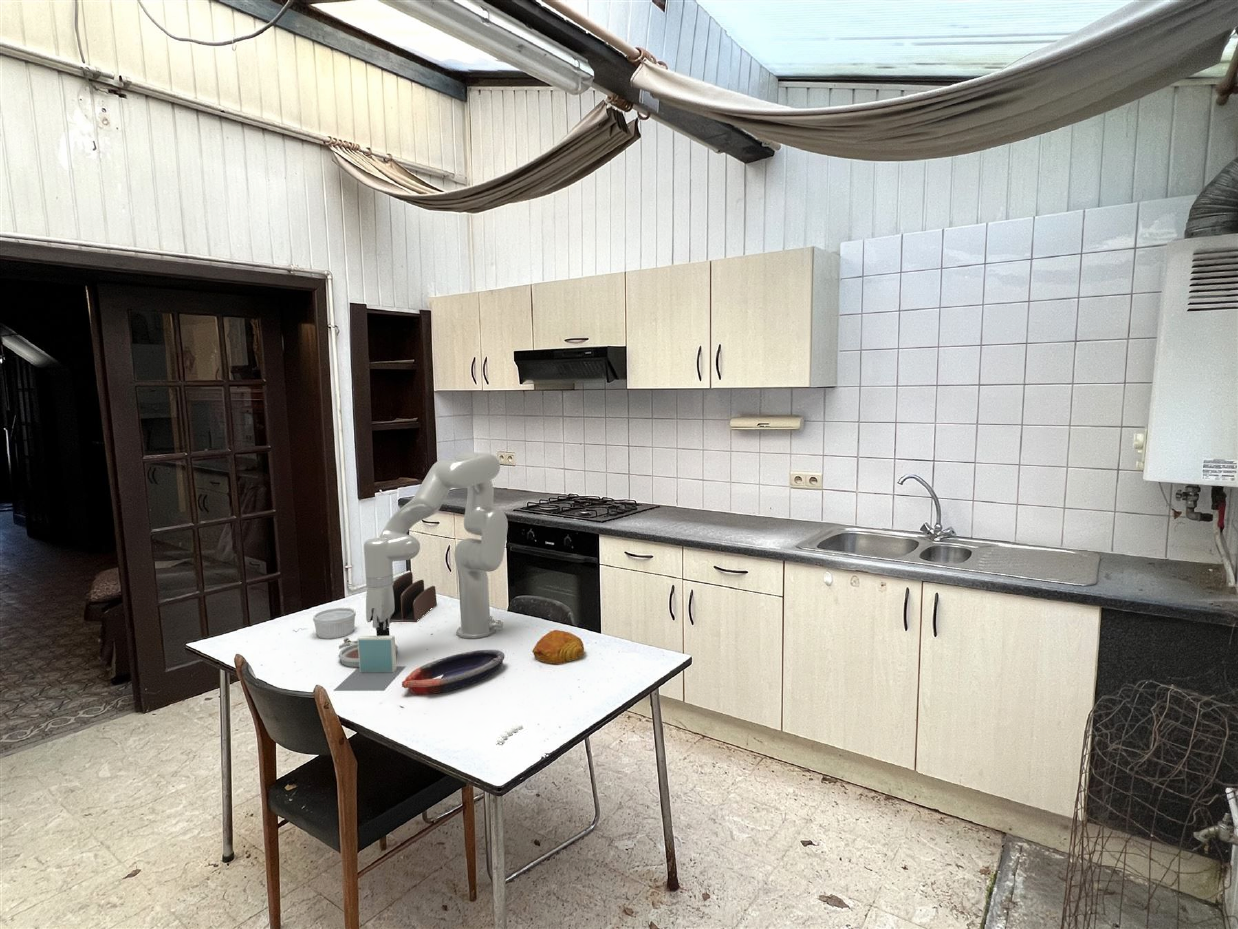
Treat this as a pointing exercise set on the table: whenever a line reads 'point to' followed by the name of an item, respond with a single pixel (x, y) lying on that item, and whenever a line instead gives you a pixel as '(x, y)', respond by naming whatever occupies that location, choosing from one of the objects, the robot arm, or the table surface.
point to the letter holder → (411, 599)
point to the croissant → (558, 647)
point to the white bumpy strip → (508, 733)
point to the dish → (454, 671)
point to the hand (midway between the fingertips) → (383, 641)
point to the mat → (368, 680)
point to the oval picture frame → (351, 653)
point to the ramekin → (334, 622)
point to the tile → (377, 653)
